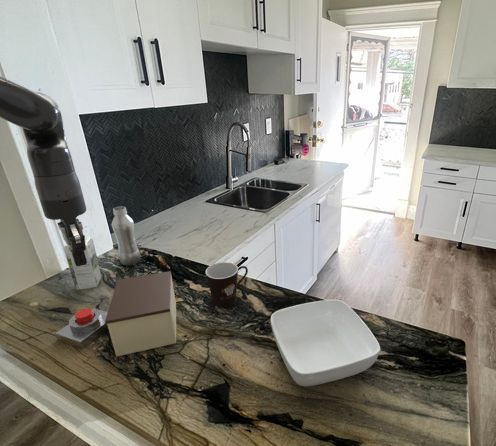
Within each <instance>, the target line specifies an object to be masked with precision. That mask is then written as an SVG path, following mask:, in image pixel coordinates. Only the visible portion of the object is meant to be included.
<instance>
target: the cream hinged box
mask: <svg viewBox="0 0 496 446" xmlns="http://www.w3.org/2000/svg"><path fill="white" fill-rule="evenodd" d="M107 325H108V333H109V335H110V340H111V343H112V346H113V349H114V353H115V357H120V356H125V355H129V354H133V353H138V352H144V351H147V350H152V349H156V348H162V347H165V346H170V345H175V344H177V302H176V295H175V289H174V283H173V277H172V275H171V298H170V312H166V313H160V314H155V315H150V316H145V317H140V318H135V319H130V320H125V321H119V322H114V323H109V324H107Z"/></svg>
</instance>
